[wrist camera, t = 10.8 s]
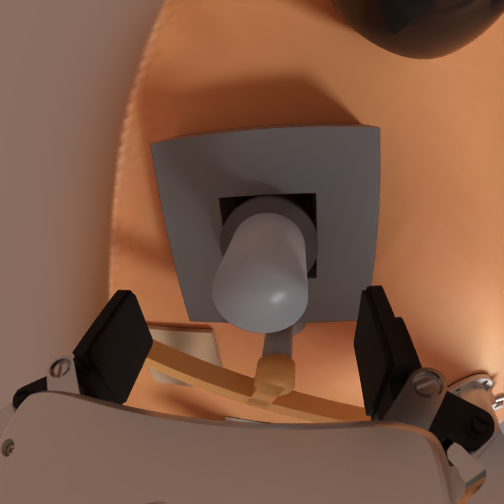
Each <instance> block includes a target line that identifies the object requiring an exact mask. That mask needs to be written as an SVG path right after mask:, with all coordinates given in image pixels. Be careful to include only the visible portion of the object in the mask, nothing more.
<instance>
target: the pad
mask: <svg viewBox="0 0 504 504" xmlns="http://www.w3.org/2000/svg"><path fill="white" fill-rule="evenodd" d="M147 326H148V329H149V331H150V333H151V336H152V338H153V339H154V340H156V341H158V342H161V343H163V344H165V345H167V346H170V347H172V348H174V349H177V350H179V351H181V352H184V353H186V354H189V355H191V356H194V357H196V358H199V359H201V360H204V361H206V362H209V363H211V364H214V365H217V366H219V367H222V363H221V359H220V355H219V351H218V347H217V343H216V339H215V335H214V331H213V329H197V328H179V327H164V326H151V325H147ZM148 368H149V370H150V372H151V374H152V376H153V378H154V380H155V382H161V383H168V384H175V385H183V386H191V387H195V386H193V385H190V384H188V383H185V382H183V381H180V380H178V379H175V378H173V377H170V376H168V375H166V374H163V373H161V372H159V371H156V370H154V369H152V368H150V367H148ZM222 368H223V367H222Z"/></svg>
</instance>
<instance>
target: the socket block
mask: <svg viewBox="0 0 504 504" xmlns="http://www.w3.org/2000/svg"><path fill="white" fill-rule="evenodd" d="M150 145H151V152H152V158H153V164H154V169H155V175H156V180H157V186H158V191H159V196H160V201H161V206H162V211H163V216H164V221H165V225H166V230H167V234H168V239H169V243H170V247H171V252H172V256H173V260H174V264H175V268H176V272H177V276H178V280H179V284H180V288H181V291H182V295H183V299H184V302H185V306H186V310H187V313H188V317H189V320H190V321H196V322H226V323H230V322H228V321H227V320H226V319H225V318H224V317H223V316H222V315H221V314H220V313H219V311H218V310H217V308H216V306H215V304H214V302H213V298H212V283H213V280H214V277H215V275H216V273H217V270H218V268H219V266H220V264H221V262H222V260H223V257H222V254H221V249H220V236H221V231H222V228H223V226H224V224H225V222H226V220H227V218H228V217H229V215H230V214H231V213H232V211H233V210H234V209H235V208H236V207H235V199H234V197H237V196H253V195H272V194H296V193H312V220H313V224H314V226H315V229H316V233H317V238H318V252H317V257H316V260H315V262H314V264H313V266H312V268H311V269H310V271H309V272H308V273H307V283H308V303H307V307H306V309H305V311H304V313H303V315H302V316H301V317H300V318H299V320H297V321H296V322H295V323H294V324H293V325H291V326H289V327H288V328H286V329H283V330H281V331H277V332H272V333H264V334H265V340H264V347H263V354H262V356H264V355H266V354H270V353H280V354H285V355H287V356H289V357H291V358H292V337H293V336H294V335H296V334H297V333H299V332H300V331H301V330H302V329H303V328H304V326H305V324H306V323H307V322H337V321H356V320H358V313H359V307H360V300H361V293H362V290H366V288H367V286H371V283H372V276H373V268H374V259H375V250H376V239H377V227H378V213H379V194H380V128H379V127H375V126H370V125H365V124H343V123H324V124H289V125H272V126H258V127H247V128H237V129H227V130H219V131H211V132H204V133H197V134H190V135H184V136H178V137H174V138H170V139H166V140H163V141H160V142H156V143H153V144H150Z"/></svg>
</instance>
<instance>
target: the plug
mask: <svg viewBox="0 0 504 504" xmlns="http://www.w3.org/2000/svg"><path fill="white" fill-rule="evenodd" d="M220 249H221V254H222V257H223V260H222V262H221V264H220V266H219V268H218V270H217V273H216V275H215V277H214V280H213V283H212V298H213V302H214V304H215V306H216V308H217V310H218V311H219V313H220V314H221V315H222V316H223V317H224V318H225V319H226V320H227V321H228V322H230V323H231V324H233V325H234V326H236V327H238V328H240V329H243V330H246V331H249V332H255V333H272V332H277V331H281V330H283V329H286V328H288V327H289V326H291V325H293V324H294V323H295V322H296V321H297V320H299V318H300V317H301V316H302V315H303V313H304V311H305V309H306V307H307V303H308V283H307V273H308V272H309V271H310V269H311V268H312V266H313V264H314V262H315V260H316V257H317V252H318V238H317V233H316V229H315V226H314V224H313V222H312V220H311V218H310V217H309V215H308V214H307V213H306V212H305V211H304V210H303V209H302V208H301V206H300V204H299V202H298V200H297V199H296V198H295V197H294V196H293V195H292V194H272V195H254V196H253V197H252V198H251V199H249V200H247V201H245V202H243V203H241V204H240V205H239V206H237V207H236V208H235V209H234V210H233V211H232V213H231V214H230V215H229V217H228V218H227V220H226V222H225V224H224V226H223V228H222V231H221V236H220Z"/></svg>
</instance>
